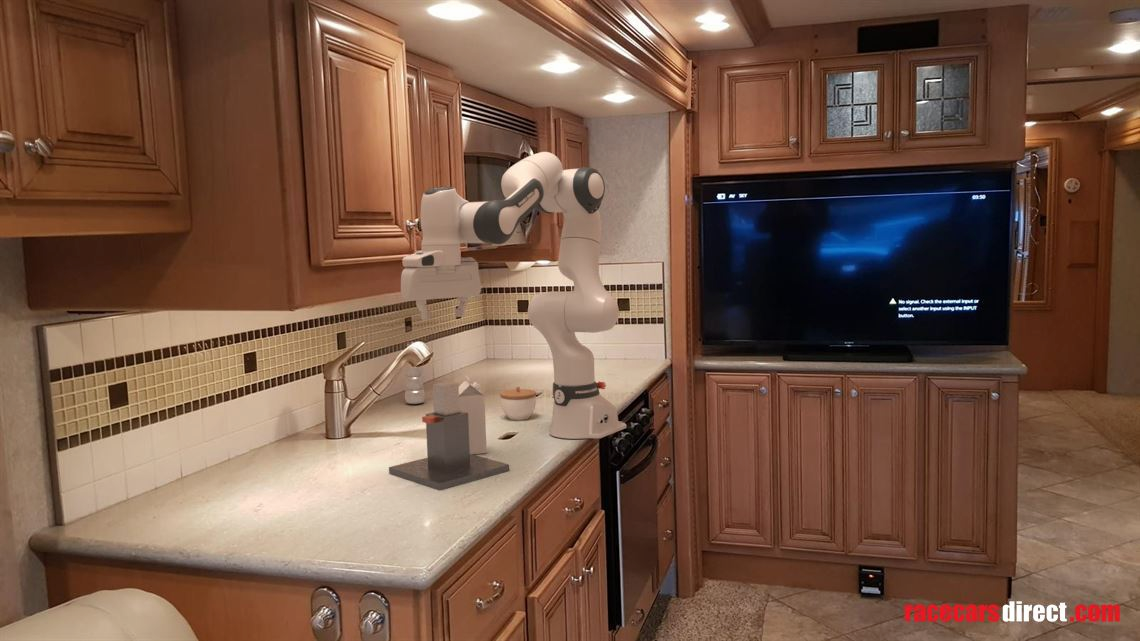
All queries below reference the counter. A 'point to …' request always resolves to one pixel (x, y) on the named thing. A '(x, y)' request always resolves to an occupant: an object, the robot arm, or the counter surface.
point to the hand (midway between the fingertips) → (443, 318)
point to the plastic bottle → (414, 384)
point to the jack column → (446, 398)
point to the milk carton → (474, 415)
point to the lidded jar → (518, 403)
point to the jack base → (448, 456)
